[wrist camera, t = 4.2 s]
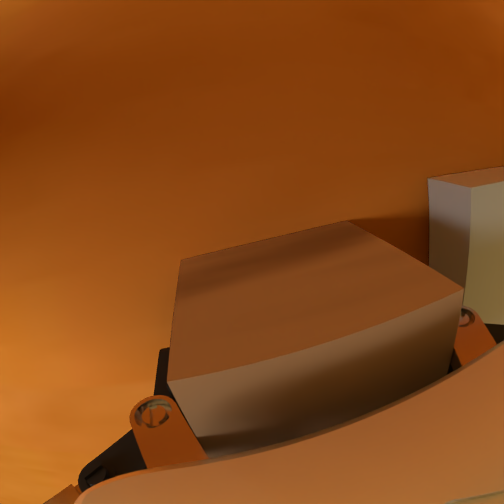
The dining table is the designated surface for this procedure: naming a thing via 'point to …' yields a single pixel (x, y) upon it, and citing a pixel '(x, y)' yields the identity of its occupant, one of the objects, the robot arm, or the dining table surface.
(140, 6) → the dining table surface
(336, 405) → the walnut block
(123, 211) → the dining table surface
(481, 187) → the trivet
